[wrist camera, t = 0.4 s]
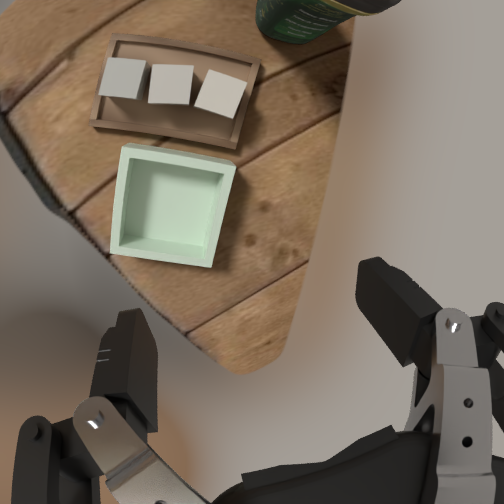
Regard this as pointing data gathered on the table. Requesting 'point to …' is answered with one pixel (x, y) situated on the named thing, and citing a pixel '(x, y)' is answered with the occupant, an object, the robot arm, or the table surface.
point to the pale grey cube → (170, 84)
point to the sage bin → (169, 204)
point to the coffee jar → (311, 16)
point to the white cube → (220, 94)
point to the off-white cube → (124, 78)
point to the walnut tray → (175, 116)
